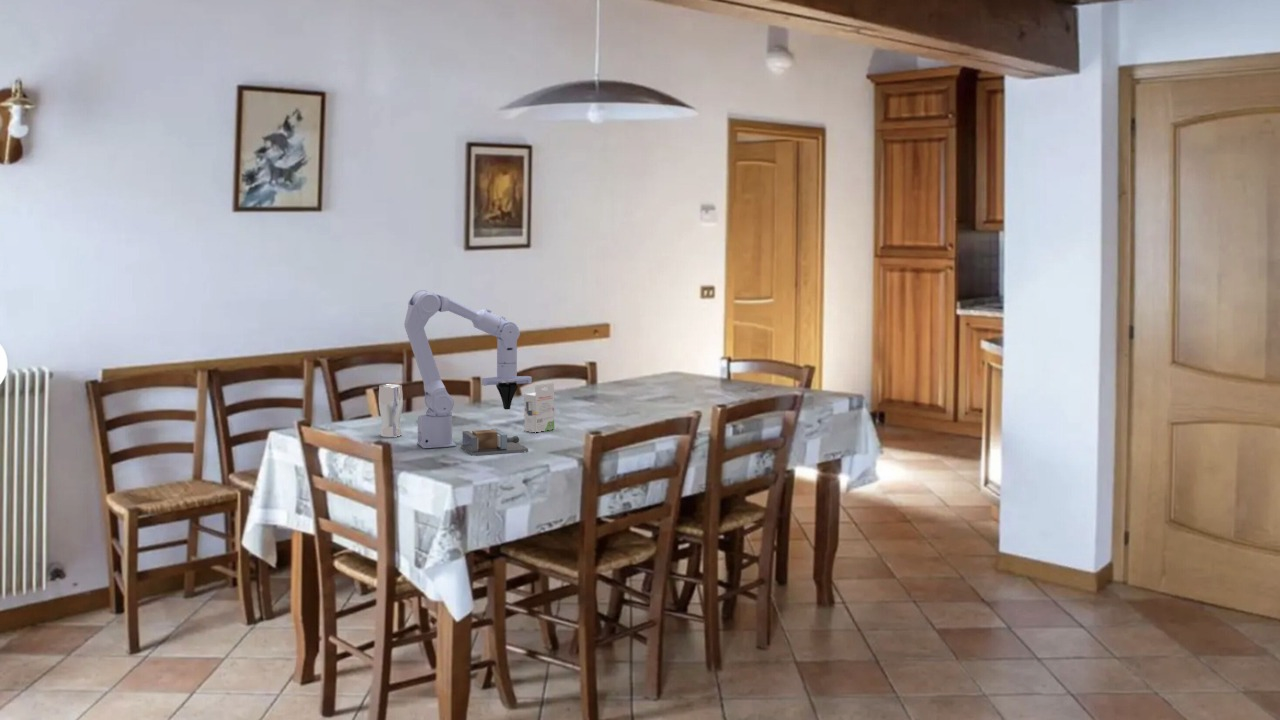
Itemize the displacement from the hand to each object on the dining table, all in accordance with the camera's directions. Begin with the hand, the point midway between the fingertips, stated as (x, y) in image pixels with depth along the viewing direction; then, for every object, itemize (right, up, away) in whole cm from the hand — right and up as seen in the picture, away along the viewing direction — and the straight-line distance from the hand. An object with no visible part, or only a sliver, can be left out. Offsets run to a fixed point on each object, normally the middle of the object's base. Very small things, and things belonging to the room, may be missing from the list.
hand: (506, 408), depth 331 cm
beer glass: (-35, -8, +5) cm, 36 cm away
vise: (-2, -11, -12) cm, 16 cm away
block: (-5, -10, -13) cm, 17 cm away
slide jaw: (+1, -10, -10) cm, 14 cm away
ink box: (+8, -8, +18) cm, 21 cm away
